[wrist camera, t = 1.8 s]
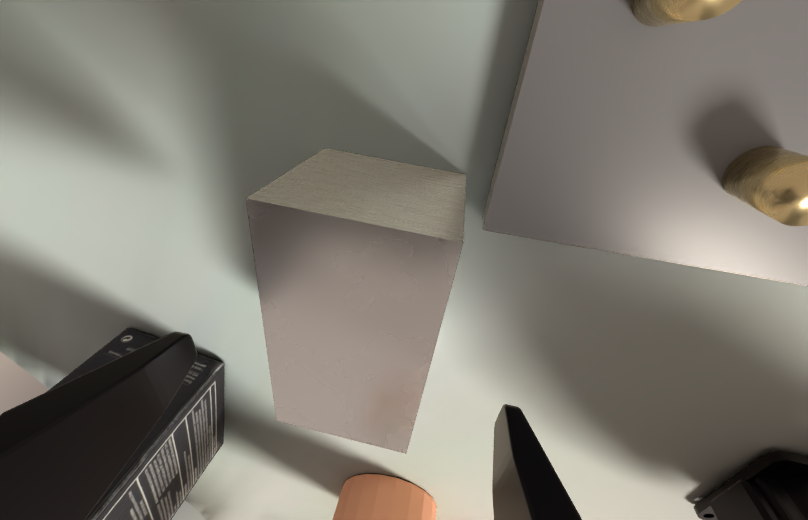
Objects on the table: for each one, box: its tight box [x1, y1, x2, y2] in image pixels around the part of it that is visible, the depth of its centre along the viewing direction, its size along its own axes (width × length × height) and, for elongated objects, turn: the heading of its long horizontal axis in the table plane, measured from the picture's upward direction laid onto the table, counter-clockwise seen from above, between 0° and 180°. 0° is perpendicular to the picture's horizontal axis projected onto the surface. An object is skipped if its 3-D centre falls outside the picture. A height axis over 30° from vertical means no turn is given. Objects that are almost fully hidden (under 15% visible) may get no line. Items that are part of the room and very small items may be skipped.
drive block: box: [246, 148, 467, 454], centre depth 12 cm, size 5×9×5 cm, turn 173°
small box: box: [47, 328, 225, 520], centre depth 18 cm, size 11×6×10 cm, turn 162°
